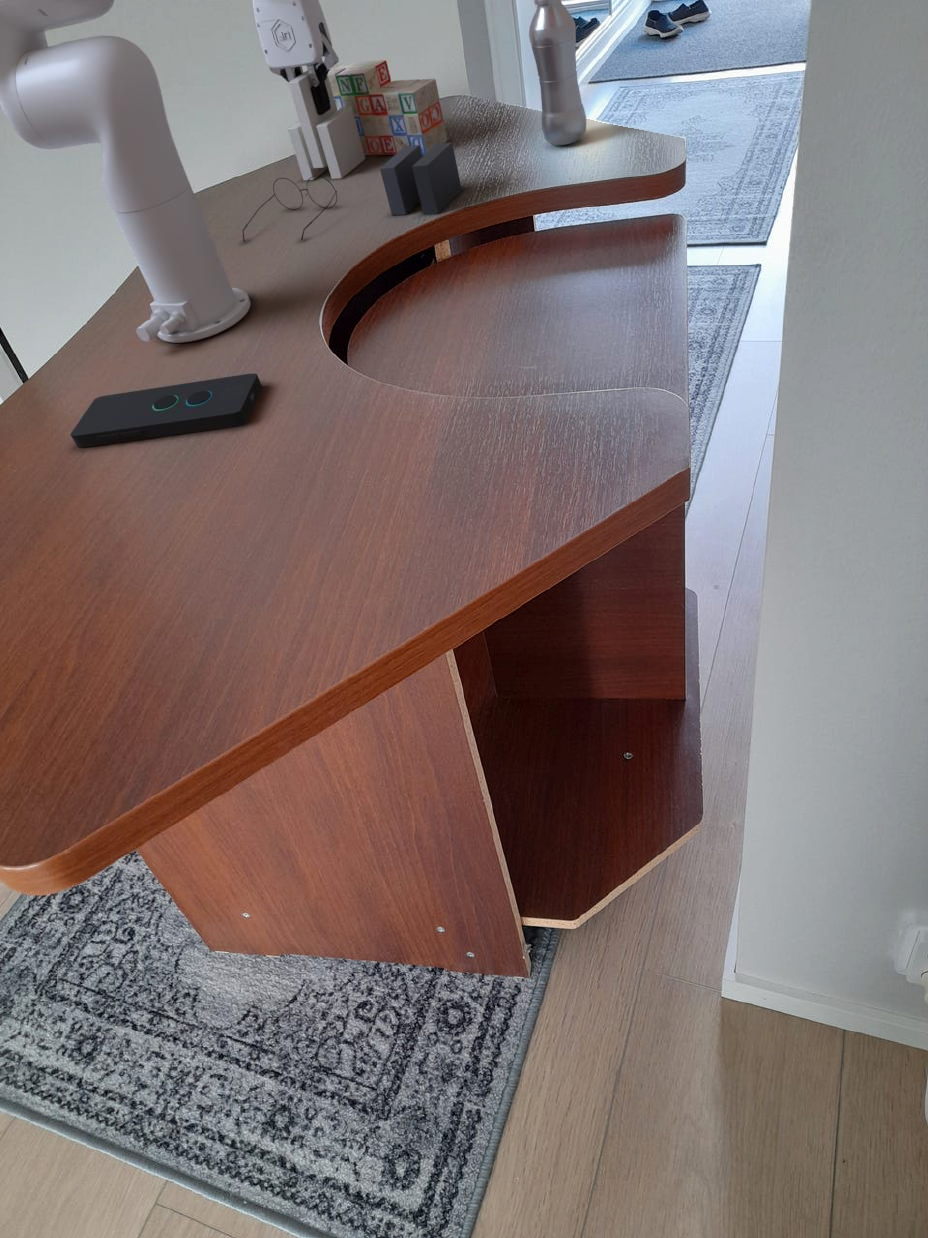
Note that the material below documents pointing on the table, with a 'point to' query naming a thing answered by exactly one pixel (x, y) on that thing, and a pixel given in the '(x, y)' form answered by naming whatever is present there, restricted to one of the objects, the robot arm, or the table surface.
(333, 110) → the white book
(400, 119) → the stack of blocks
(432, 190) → the grey books
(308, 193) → the eyeglasses
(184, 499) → the table surface
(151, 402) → the smart home device
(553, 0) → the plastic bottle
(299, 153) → the white books
